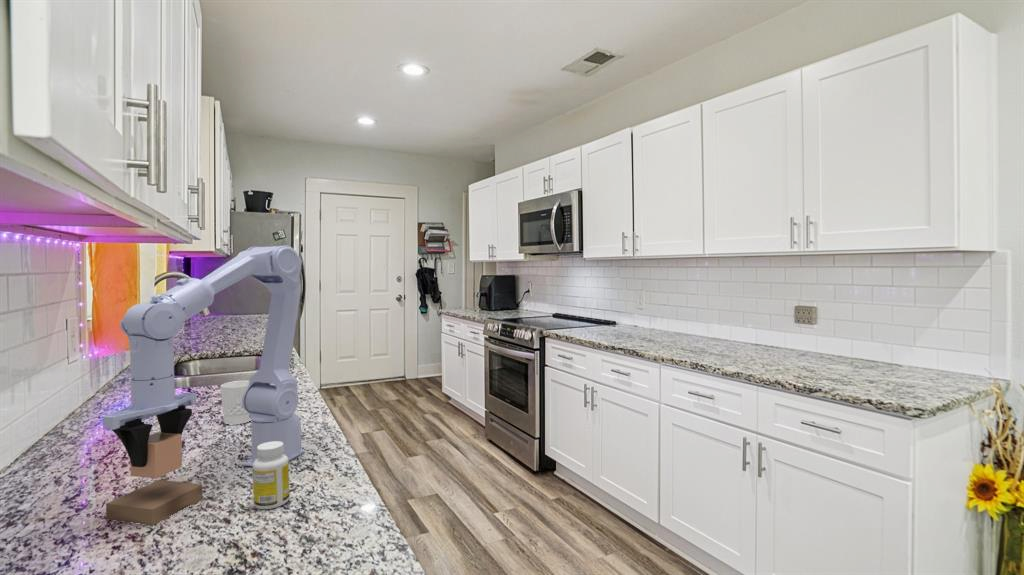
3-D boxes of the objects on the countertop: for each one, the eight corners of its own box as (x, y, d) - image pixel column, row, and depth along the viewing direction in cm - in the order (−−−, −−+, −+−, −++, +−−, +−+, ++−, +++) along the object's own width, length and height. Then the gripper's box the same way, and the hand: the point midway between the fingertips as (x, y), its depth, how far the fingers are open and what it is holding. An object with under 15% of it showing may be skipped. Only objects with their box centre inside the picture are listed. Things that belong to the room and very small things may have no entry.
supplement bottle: (280, 492, 86) (279, 437, 86) (295, 501, 82) (294, 444, 82) (247, 503, 82) (246, 445, 81) (262, 513, 78) (261, 453, 78)
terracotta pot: (158, 464, 83) (157, 431, 82) (181, 466, 82) (181, 433, 81) (130, 475, 78) (129, 441, 78) (155, 478, 77) (154, 443, 77)
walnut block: (160, 496, 85) (159, 479, 85) (202, 501, 83) (202, 484, 83) (106, 522, 77) (106, 503, 77) (152, 528, 75) (152, 509, 75)
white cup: (242, 427, 123) (241, 387, 122) (214, 425, 124) (213, 386, 123) (262, 417, 130) (262, 380, 130) (236, 416, 132) (235, 379, 131)
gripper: (128, 388, 71) (131, 480, 72) (210, 369, 86) (212, 446, 86) (90, 386, 73) (93, 475, 73) (177, 367, 87) (179, 443, 88)
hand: (155, 459), depth 80 cm, fingers closed on terracotta pot, 5 cm apart
